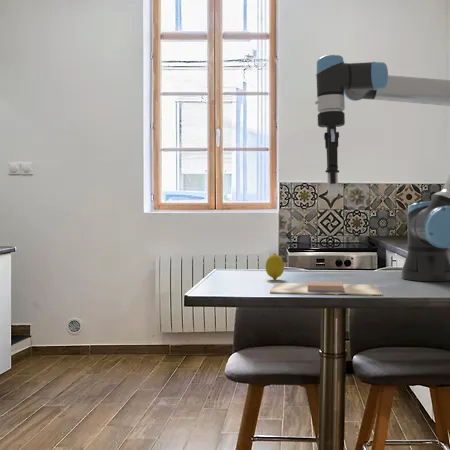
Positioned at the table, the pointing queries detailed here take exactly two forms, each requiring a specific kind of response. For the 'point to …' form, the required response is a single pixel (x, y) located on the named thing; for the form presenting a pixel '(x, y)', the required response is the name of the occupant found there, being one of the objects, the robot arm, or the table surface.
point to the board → (303, 289)
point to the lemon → (274, 266)
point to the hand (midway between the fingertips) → (332, 195)
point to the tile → (325, 286)
